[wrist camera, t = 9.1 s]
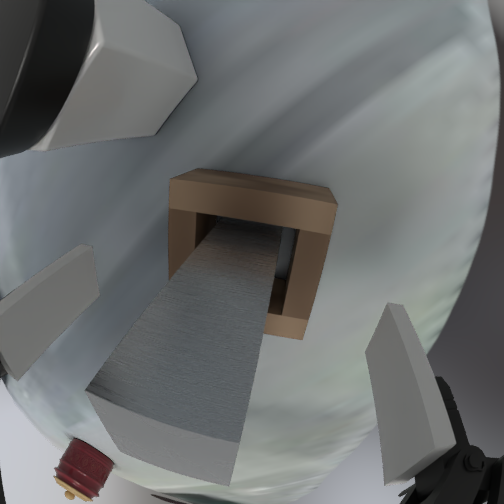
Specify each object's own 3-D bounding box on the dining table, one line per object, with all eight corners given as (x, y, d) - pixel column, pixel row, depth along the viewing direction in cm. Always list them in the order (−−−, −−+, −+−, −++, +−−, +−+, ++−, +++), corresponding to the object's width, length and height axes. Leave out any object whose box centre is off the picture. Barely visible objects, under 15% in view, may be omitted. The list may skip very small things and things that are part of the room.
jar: (213, 23, 12) (97, -80, 2) (186, 142, 16) (21, 177, 5) (102, 31, 13) (-28, 4, 2) (82, 131, 16) (-58, 162, 6)
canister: (78, 435, 45) (48, 485, 29) (121, 464, 47) (97, 515, 31) (69, 438, 50) (43, 481, 34) (106, 465, 52) (84, 508, 36)
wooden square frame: (192, 280, 20) (170, 312, 16) (197, 168, 16) (169, 178, 13) (303, 302, 19) (302, 340, 15) (328, 188, 16) (337, 204, 12)
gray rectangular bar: (225, 258, 19) (120, 451, 6) (229, 209, 17) (84, 390, 5) (275, 267, 18) (229, 486, 6) (284, 218, 17) (239, 443, 4)
